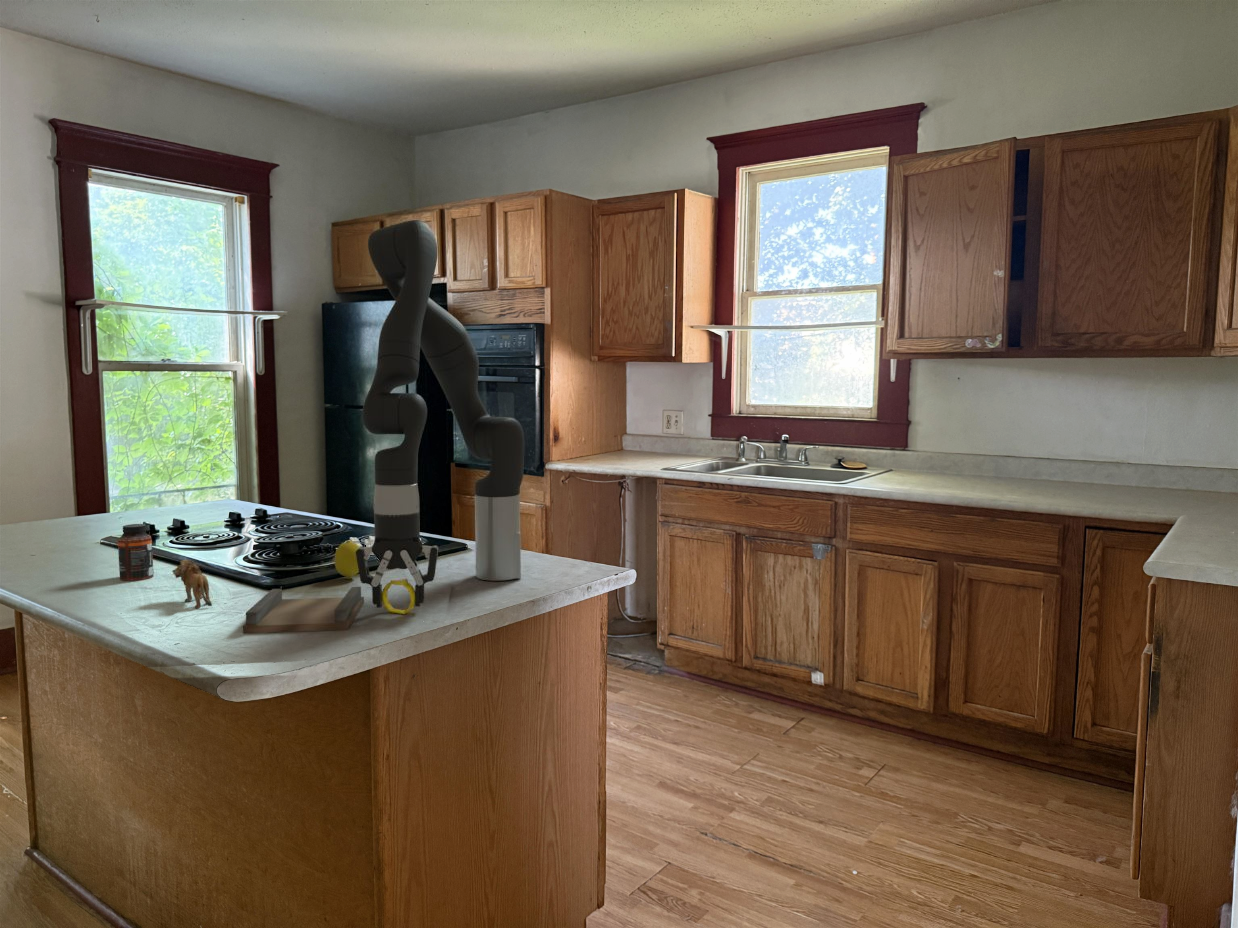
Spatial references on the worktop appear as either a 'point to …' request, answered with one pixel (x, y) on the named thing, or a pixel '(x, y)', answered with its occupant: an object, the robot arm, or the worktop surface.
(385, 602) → the watch
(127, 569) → the supplement bottle
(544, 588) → the worktop surface
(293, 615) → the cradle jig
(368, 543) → the modular blocks
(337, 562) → the lemon
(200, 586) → the lion figurine
